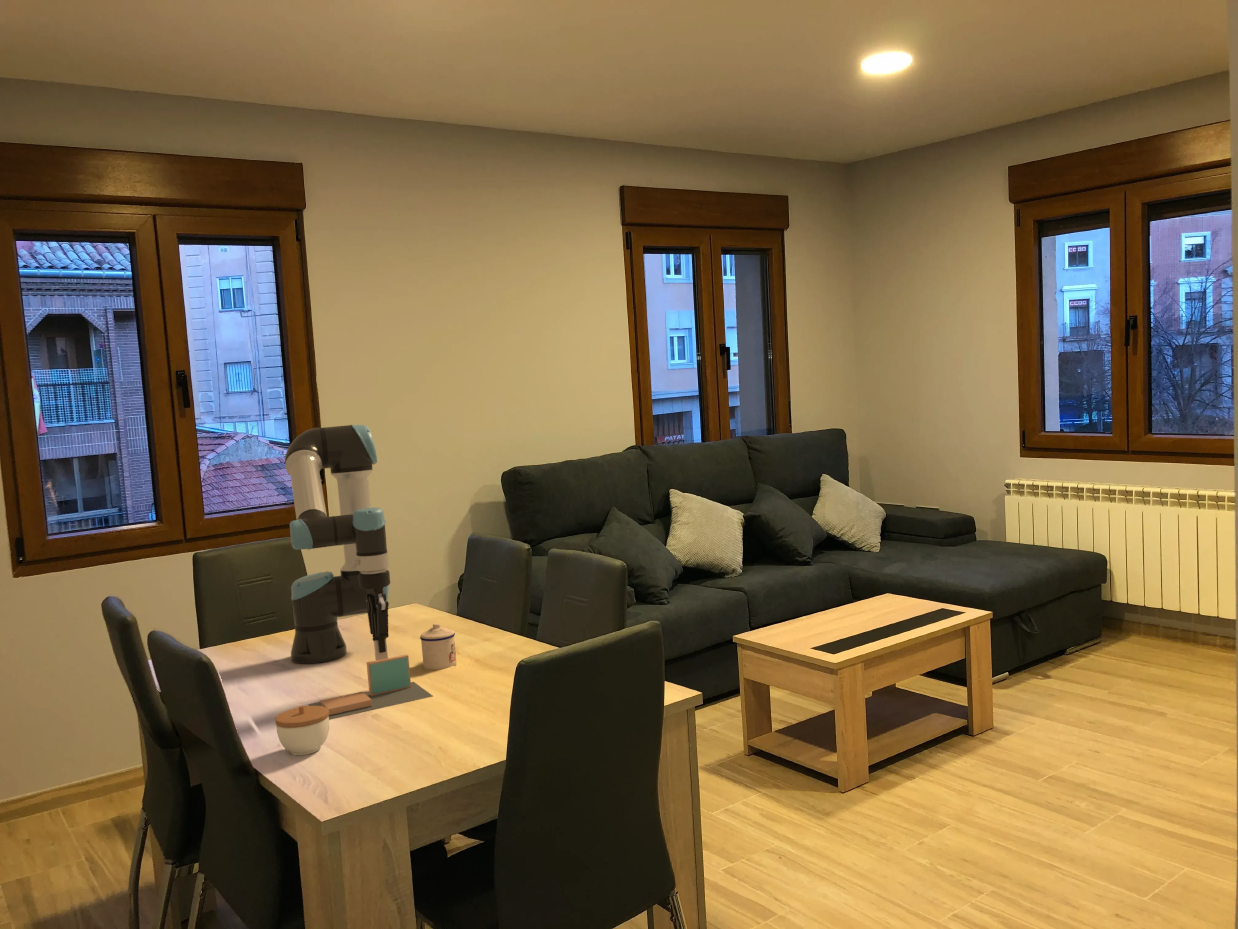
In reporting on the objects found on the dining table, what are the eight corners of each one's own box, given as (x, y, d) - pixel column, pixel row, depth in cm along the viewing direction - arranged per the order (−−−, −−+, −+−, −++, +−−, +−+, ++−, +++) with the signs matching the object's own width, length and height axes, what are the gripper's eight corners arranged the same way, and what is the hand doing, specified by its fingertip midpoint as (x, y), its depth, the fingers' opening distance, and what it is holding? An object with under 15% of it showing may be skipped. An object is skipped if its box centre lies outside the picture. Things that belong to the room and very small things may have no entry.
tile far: (369, 694, 242) (366, 662, 242) (409, 686, 247) (406, 654, 246) (371, 696, 241) (368, 663, 240) (411, 687, 246) (408, 655, 245)
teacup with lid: (457, 669, 261) (454, 625, 260) (422, 673, 259) (418, 629, 258) (457, 657, 273) (453, 615, 272) (423, 661, 271) (419, 619, 270)
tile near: (320, 700, 235) (328, 709, 228) (362, 691, 240) (371, 699, 233) (320, 707, 235) (329, 716, 228) (363, 698, 240) (372, 706, 233)
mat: (308, 706, 238) (308, 704, 238) (413, 684, 251) (413, 681, 250) (323, 723, 225) (322, 721, 225) (433, 698, 237) (433, 696, 237)
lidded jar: (285, 743, 214) (281, 700, 213) (336, 738, 215) (332, 696, 214) (272, 762, 203) (268, 717, 202) (326, 757, 204) (322, 712, 203)
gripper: (351, 569, 250) (360, 661, 252) (365, 576, 239) (374, 673, 241) (380, 565, 254) (389, 656, 256) (396, 572, 242) (404, 667, 244)
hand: (382, 664), depth 248 cm, fingers closed
